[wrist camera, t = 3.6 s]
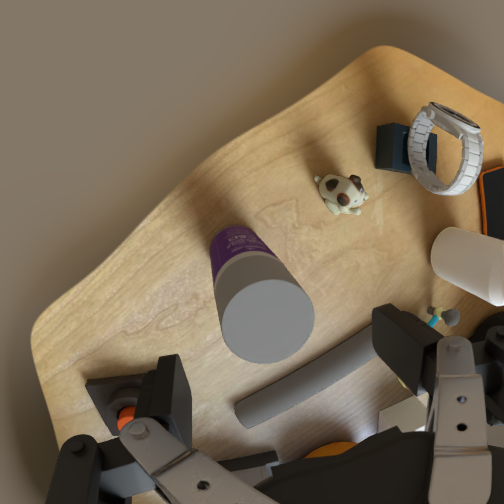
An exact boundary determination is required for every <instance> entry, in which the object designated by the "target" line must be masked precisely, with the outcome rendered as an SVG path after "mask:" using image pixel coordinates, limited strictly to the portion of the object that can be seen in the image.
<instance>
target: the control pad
mask: <svg viewBox="0 0 504 504" xmlns="http://www.w3.org/2000/svg"><path fill="white" fill-rule="evenodd" d="M146 374H147V373H144V374H137V375H129V376H121V377H112V378H103V379H93V380H87V383H86V385H85V387H86V389H87V391H88V393H89V395H90V397H91V399H92V400H93V402H94V404H95V406H96V408H97V410H98V411H99V413H100V415H101V417H102V419H103V420H104V422H105V424H106V426H107V427H108V429H109V431H110V432H111V434H112V436H119V433H120V430H119V429H118V426H117V423H118V419H119V415H120V412H121V410H122V409H123V408H125V407H128V406H136V404H137V400H138V396H139V391H140V389H141V388H140V387H141V382H142V379H143V378H144V376H145V375H146Z"/></svg>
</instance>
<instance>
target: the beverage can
mask: <svg viewBox="0 0 504 504" xmlns="http://www.w3.org/2000/svg"><path fill="white" fill-rule="evenodd" d="M431 265H432V268H433V271H434V272H435V274H436V275H438V276H439V277H441V278H442V279H444V280H446V281H448V282H450V283H452V284H454V285H456V286H458V287H460V288H462V289H464V290H466V291H468V292H470V293H472V294H474V295H476V296H478V297H480V298H481V299H483V300H485V301H487V302H489V303H491V304H493V305H495V306H503V305H504V241H503V240H499V239H496V238H493V237H489V236H486V235H483V234H479V233H476V232H472V231H469V230H465V229H461V228H457V227H448V228H445V229H444V230H443V231H441V232H440V233H439V235H438V236H437V237H436V239H435V241H434V243H433V246H432V250H431Z"/></svg>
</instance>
